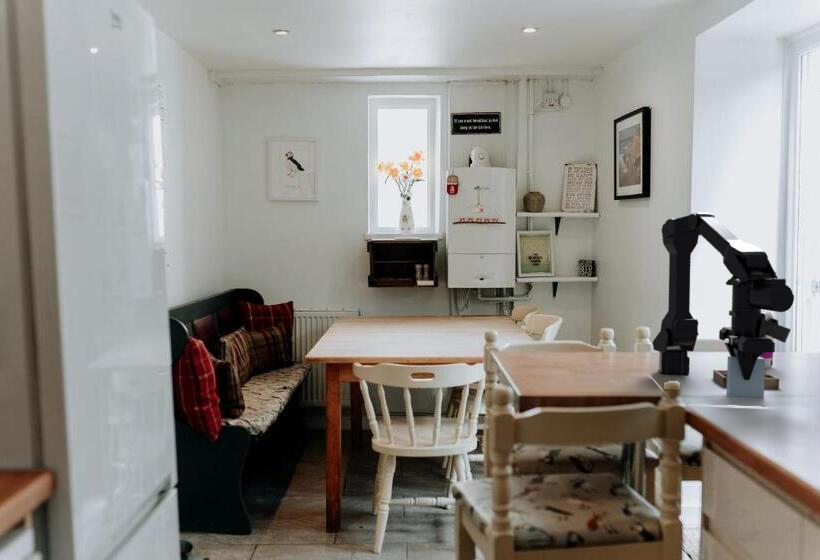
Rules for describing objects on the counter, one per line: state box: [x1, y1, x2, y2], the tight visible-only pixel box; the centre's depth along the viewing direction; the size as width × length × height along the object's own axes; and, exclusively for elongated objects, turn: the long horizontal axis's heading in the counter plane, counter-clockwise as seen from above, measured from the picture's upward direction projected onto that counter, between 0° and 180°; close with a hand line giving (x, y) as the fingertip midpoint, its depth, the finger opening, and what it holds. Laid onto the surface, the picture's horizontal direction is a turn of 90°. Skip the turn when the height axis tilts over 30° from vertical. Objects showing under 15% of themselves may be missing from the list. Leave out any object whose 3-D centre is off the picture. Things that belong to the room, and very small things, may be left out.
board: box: [726, 355, 766, 398], centre depth 148 cm, size 7×2×9 cm, turn 80°
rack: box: [711, 369, 782, 391], centre depth 160 cm, size 12×11×3 cm
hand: (744, 378), depth 148 cm, fingers open, 3 cm apart
